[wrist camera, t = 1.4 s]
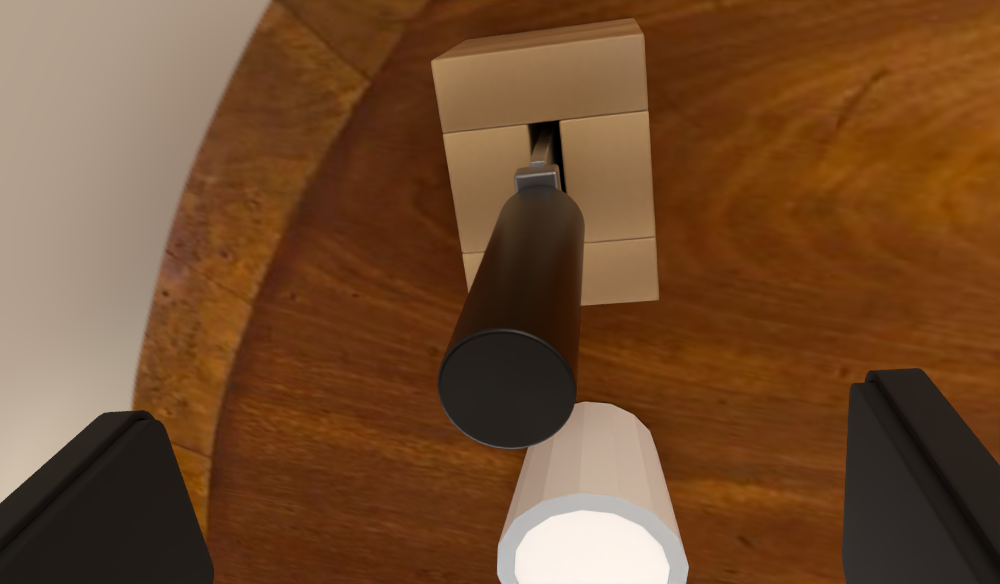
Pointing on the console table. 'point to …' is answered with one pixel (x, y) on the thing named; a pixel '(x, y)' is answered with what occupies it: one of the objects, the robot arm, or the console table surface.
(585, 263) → the knife block
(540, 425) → the knife
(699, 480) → the console table surface
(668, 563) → the white cylinder
